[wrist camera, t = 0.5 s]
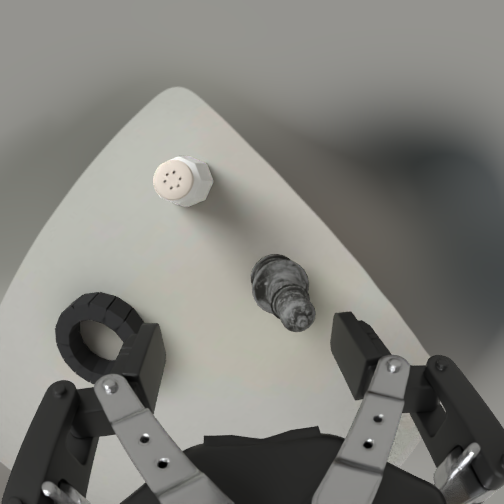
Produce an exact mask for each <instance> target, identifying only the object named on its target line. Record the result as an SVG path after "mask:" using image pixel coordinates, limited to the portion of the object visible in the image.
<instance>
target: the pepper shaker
mask: <svg viewBox="0 0 504 504" xmlns="http://www.w3.org/2000/svg"><path fill="white" fill-rule="evenodd" d="M213 182H214V181H213V178H212V176H211V173H210V171H209V168H208V165H207V163H205V162H203V161H200V160H198V159H196V158H193V157H191V156H179V157H176V158H173V159H171V160H168V161H166V162H164V163H162V164H161V165H160V166H159V167H158V168H157V170H156V171H155V174H154V178H153V184H154V188H155V190H156V192H157V193H158V195H160V197H161V198H162V199H165V200H167V201H169V202H172V203H174V204H176V205H179V206H184V207H189V206H191V205H194V204H196V203H199V202H201V201H204V200H206V198H207V195H208V193H209V191H210V189H211V186H212V184H213Z"/></svg>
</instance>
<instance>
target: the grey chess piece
mask: <svg viewBox="0 0 504 504" xmlns="http://www.w3.org/2000/svg"><path fill="white" fill-rule="evenodd" d="M251 283H252V293H253V297H254V300H255V301H256V303H257V305H258V306H259V307H260V308H262V309H263V310H264V311H266V312H268V313H272V314H274V315H275V316H276V317H277V318H279V319H281V321H282V323H283V325H284V326H285V327H286V328H287V329H288V330H290V331H293V332H300V331H303V330H305V329H307V328H309V327H310V326H311V325H312V323H313V322H314V319H315V315H316V313H315V308H314V306H313V305H312V303H311V302H310V298H309V294H308V288H309V281H308V276H307V274H306V273H305V271H304V269H303V268H302V267H301V266H300V265H298V264H297V263H295V262H293V261H291V260H290V259H289V258H287V257H285V256H283V255H279V254H272V255H268V256H265V257H264V258H262V259H260V260H259V261H258V262H257V263H256V265H255V266H254V268H253V270H252V274H251Z"/></svg>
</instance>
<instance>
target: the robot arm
mask: <svg viewBox="0 0 504 504" xmlns="http://www.w3.org/2000/svg"><path fill="white" fill-rule="evenodd" d="M330 344H331V351H332V354H333V356H334V358H335V360H336V362H337V364H338V366H339V368H340V370H341V372H342V374H343V376H344V378H345V380H346V382H347V384H348V386H349V389H350V391H351V393H352V395H353V397H354V399H355V400H360V399H363V401H362V403H361V405H360V408H359V410H358V412H357V414H356V417H355V419H354V421H353V423H352V426H351V428H350V430H349V432H348V434H347V436H346V438H342V437H339V436H336V435H331V434H323V433H320V430H319V427H318V426H315V427H309V428H302V429H295V430H290V431H287V432H284V433H281V434H278V435H275V436H271V437H268V438H265V439H257V438H249V437H242V436H235V435H222V436H204V443H203V444H199V445H196V446H193V447H190V448H188V449H186V450H184V451H182V450H181V449H180V448H179V447H178V446H177V444H176V443H175V442H174V441H173V440H172V438H171V437H170V436H169V435H168V433H167V432H166V431H165V430H164V428H163V427H162V426H161V424H160V423H159V422H158V420H157V419H156V418H155V416H154V415H153V414H154V410H155V405H156V401H157V396H158V392H159V388H160V383H161V379H162V375H163V371H164V367H165V362H166V353H165V348H164V343H163V339H162V334H161V330H160V326H159V324H158V323H143V324H142V325H141V327H140V329H139V331H138V334H131V335H130V336H129V337H128V338H127V339H126V340H125V341H124V343H123V345H122V349H121V350H120V352H119V355H118V356H117V358H116V361H115V363H114V365H113V367H112V370H111V372H110V374H108V375H105V376H103V377H101V378H100V379H98V380H97V381H96V383H95V385H94V387H92V388H85V389H76V387H75V385H74V384H73V383H72V382H70V381H67V380H61V381H57V382H55V383H53V384H52V385H51V386H50V387H49V388H48V389H47V391H46V393H45V395H44V397H43V399H42V401H41V403H40V405H39V407H38V410H37V412H36V414H35V416H34V418H33V420H32V422H31V425H30V427H29V429H28V431H27V434H26V436H25V438H24V441H23V443H22V445H21V448H20V450H19V453H18V455H17V458H16V460H15V463H14V466H13V468H12V471H11V474H10V477H9V480H8V483H7V485H6V488H5V492H4V495H3V498H2V504H91V503H90V502H89V501H88V500H87V499H86V493H87V488H88V483H89V478H90V474H91V469H92V465H93V460H94V456H95V452H96V448H97V444H98V440H99V437H100V436H108V435H115V434H116V435H117V437H118V439H119V440H120V442H121V444H122V446H123V447H124V449H125V451H126V452H127V454H128V456H129V457H130V459H131V461H132V462H133V464H134V465H135V467H136V468H137V470H138V471H139V473H140V474H141V476H142V477H143V479H144V480H145V482H146V483H144V484H143V485H142V486H141V487H140V488H138V489H137V490H136V491H135V492H134V493H132V494H131V495H130V496H129V497H127V498H126V499H125V500H124V501H122V502H121V503H120V504H481V503H483V502H484V501H485V500H486V499H488V498H489V497H490V496H491V495H492V494H493V493H495V492H496V491H497V490H498V489H499V488H501V487H502V486H503V485H504V429H503V427H502V426H501V424H500V423H499V421H498V420H497V419H496V417H495V416H494V414H493V413H492V411H491V410H490V409H489V407H488V406H487V405H486V403H485V402H484V401H483V399H482V398H481V396H480V395H479V394H478V392H477V391H476V390H475V389H474V387H473V386H472V385H471V383H470V382H469V381H468V380H467V378H466V377H465V376H464V374H463V373H462V372H461V371H460V369H459V368H458V367H457V366H456V364H455V363H454V362H453V361H452V360H451V359H450V358H448V357H446V356H442V355H435V356H432V357H430V358H429V359H428V361H427V364H426V366H411V365H409V363H408V361H407V360H406V359H404V358H402V357H400V356H397V355H392V354H391V353H390V352H389V350H388V349H387V348H386V346H385V345H384V344H383V342H382V341H381V340H380V339H379V337H378V336H377V334H376V333H375V332H374V330H373V329H372V328H371V326H370V325H368V324H367V323H365V322H364V321H362V320H361V321H358V320H357V319H356V317H355V316H354V315H353V313H352V312H342V313H335V315H334V319H333V326H332V334H331V342H330ZM440 401H441V403H442V405H443V406H444V408H445V410H446V413H445V411H444V409H443V408H442V406H441V405H440ZM402 413H410V415H411V417H412V419H413V421H414V423H415V425H416V427H417V429H418V431H419V433H420V435H421V437H422V439H423V441H424V443H425V445H426V447H427V449H428V451H429V452H430V455H431V457H432V459H433V461H434V463H435V465H436V467H437V469H436V471H435V473H434V483H435V484H434V485H433V484H431V483H429V482H427V481H425V480H422V479H421V478H418V477H416V476H414V475H412V474H410V473H408V472H406V471H404V470H402V469H400V468H398V467H396V466H394V465H392V464H390V463H388V462H387V460H388V457H389V454H390V451H391V448H392V445H393V442H394V439H395V435H396V432H397V429H398V425H399V422H400V418H401V414H402Z"/></svg>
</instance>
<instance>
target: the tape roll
mask: <svg viewBox="0 0 504 504" xmlns="http://www.w3.org/2000/svg"><path fill="white" fill-rule="evenodd" d="M131 308H132V307H131V306H130V305H128V304H127V303H125V302H124V301H122V300H121V299H120V298H118V297H117V298H116V296H113V295H109V294H105V293H102V292H100V293H99V292H96V293H89V294H84V295H82V296H81V297H79V298H78V299H77V300H75V301H74V302H73V303H72V304H71V305H70V306H69V307H67V308H66V309H65V310H64V311H63V312H62V313H61V315H60V317H59V319H58V322H57V324H56V328H55V333H56V343H57V346H58V349H59V351H60V353H61V355H62V358H63V359H64V361H65V362H66V363H67V364H68V366H69V367H70V368H71V369H72V370H73V371H74V372H76V374H77V375H79V376H80V377H82V378H83V379H85V380H86V381H88V382H90V380H91V383H92V384H95V383H96V381H97V380H98V379H100V378H101V377H103V376H105V375H108V374H110V372H111V370H112V367H113V365H114V363H115V361H116V360H113V361H110V360H106V359H103V358H100V357H99V356H97V355H96V354H94V353H93V352H91V351H90V350H89V348H88V347H87V346H86V345H85V344H84V342H83V340H82V337H81V335H80V321H85V320H93V321H97V322H100V323H103V324H105V325H106V326H108V327H109V328H111V329H112V330H114V331H115V332H116V333H117V335H118V336H119V337H120V338H121V340H122V341H123V343H124V341H125V340H126V339H127V338H128V337H129V336H130V335H131V334H138V331H139V329H140V327H141V325H142V324H143V320H142V319H141V318H140V317H139V315H138V314H137V313H136V311H135V310H134V309H131Z"/></svg>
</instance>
